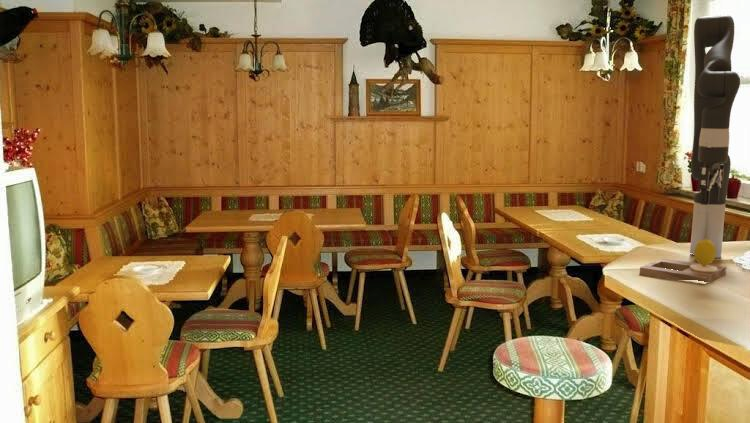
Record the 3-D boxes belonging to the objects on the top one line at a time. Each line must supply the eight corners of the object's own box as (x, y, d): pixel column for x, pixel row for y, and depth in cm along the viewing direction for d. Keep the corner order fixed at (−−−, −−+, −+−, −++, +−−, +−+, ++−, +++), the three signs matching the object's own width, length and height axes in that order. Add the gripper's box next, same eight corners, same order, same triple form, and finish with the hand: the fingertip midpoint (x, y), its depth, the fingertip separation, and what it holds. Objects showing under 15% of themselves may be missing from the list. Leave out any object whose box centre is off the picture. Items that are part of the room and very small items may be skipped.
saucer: (694, 265, 216) (695, 262, 216) (720, 269, 212) (720, 266, 212) (686, 269, 211) (686, 266, 211) (712, 273, 206) (712, 270, 206)
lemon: (716, 268, 208) (718, 240, 207) (695, 267, 209) (697, 239, 208) (711, 264, 214) (714, 237, 212) (691, 263, 215) (693, 236, 213)
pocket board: (663, 264, 227) (663, 257, 227) (725, 273, 215) (726, 267, 215) (639, 274, 214) (640, 267, 213) (704, 285, 202) (705, 277, 202)
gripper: (708, 143, 214) (703, 199, 216) (690, 145, 203) (686, 204, 206) (736, 144, 209) (731, 201, 211) (720, 146, 198) (715, 207, 201)
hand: (709, 202), depth 208 cm, fingers open, 8 cm apart
